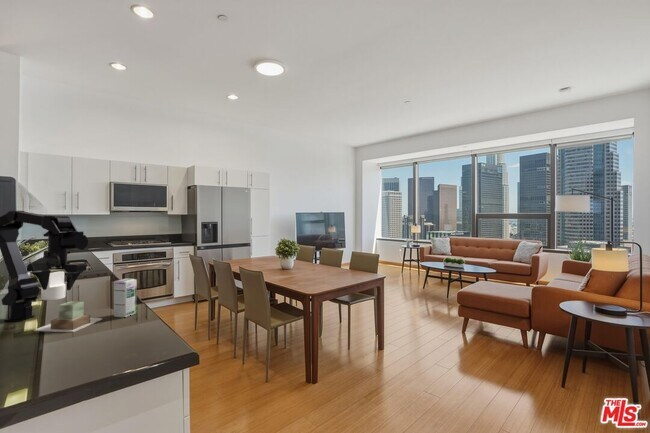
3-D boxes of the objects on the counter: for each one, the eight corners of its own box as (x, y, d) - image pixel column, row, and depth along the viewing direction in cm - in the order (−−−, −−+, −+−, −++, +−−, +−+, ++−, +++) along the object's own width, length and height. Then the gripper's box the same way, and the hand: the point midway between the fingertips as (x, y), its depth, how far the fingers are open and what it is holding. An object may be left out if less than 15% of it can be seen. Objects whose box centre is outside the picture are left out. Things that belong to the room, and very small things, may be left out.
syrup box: (125, 317, 127) (126, 281, 127) (112, 316, 129) (113, 280, 129) (136, 313, 133) (137, 278, 133) (124, 312, 134) (125, 278, 134)
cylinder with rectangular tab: (54, 300, 150) (55, 274, 150) (35, 299, 150) (36, 274, 150) (70, 295, 159) (70, 271, 159) (52, 295, 159) (53, 271, 159)
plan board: (33, 331, 111) (34, 320, 111) (67, 318, 125) (67, 309, 125) (73, 332, 111) (73, 322, 111) (102, 319, 125) (102, 310, 125)
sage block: (58, 319, 114) (59, 305, 114) (70, 314, 119) (70, 301, 119) (72, 319, 113) (72, 305, 113) (83, 315, 118) (83, 301, 118)
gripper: (12, 250, 113) (11, 294, 113) (64, 251, 113) (63, 295, 113) (41, 247, 125) (39, 287, 124) (88, 248, 124) (87, 288, 124)
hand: (56, 289), depth 121 cm, fingers open, 9 cm apart
